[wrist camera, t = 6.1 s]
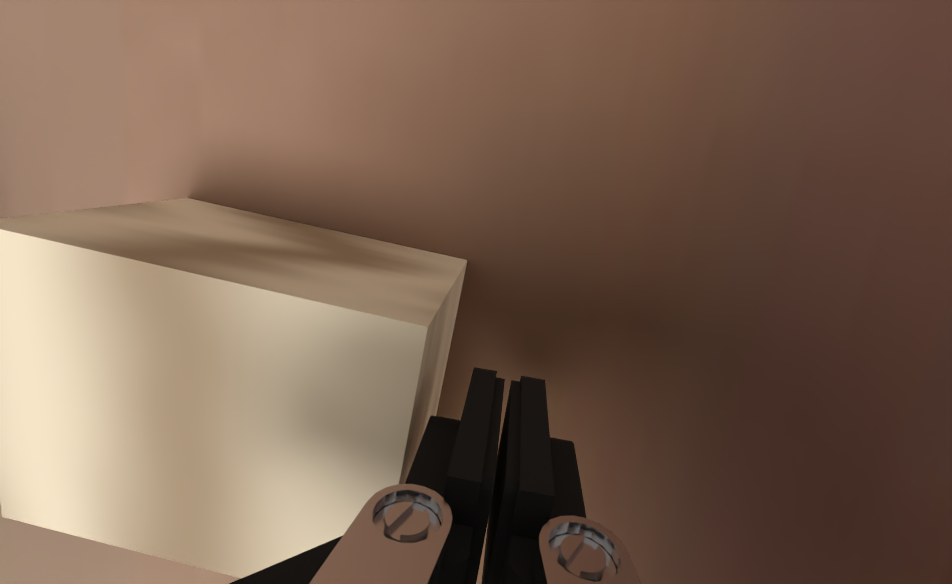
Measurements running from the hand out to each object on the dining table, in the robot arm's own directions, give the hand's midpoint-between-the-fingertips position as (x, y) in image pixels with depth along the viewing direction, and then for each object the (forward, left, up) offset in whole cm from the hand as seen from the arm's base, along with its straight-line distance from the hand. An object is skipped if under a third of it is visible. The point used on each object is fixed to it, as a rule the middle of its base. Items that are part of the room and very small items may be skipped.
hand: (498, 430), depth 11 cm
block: (+6, 0, -4) cm, 8 cm away
